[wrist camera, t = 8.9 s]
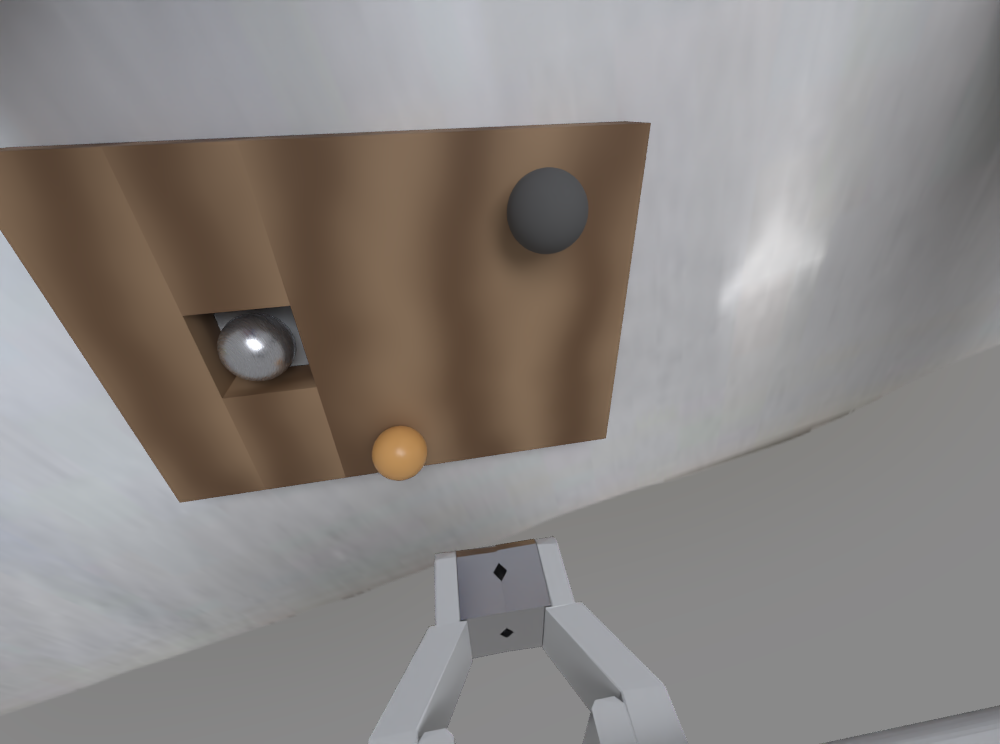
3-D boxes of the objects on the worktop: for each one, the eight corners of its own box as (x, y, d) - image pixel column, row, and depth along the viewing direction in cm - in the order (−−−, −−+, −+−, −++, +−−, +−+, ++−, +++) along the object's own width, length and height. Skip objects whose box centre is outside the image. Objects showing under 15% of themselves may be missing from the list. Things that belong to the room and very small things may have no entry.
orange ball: (422, 411, 24) (424, 447, 21) (429, 450, 26) (431, 487, 23) (369, 418, 24) (364, 455, 21) (379, 457, 25) (375, 496, 23)
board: (625, 121, 20) (650, 123, 18) (592, 415, 30) (605, 438, 28) (7, 147, 17) (-51, 153, 14) (197, 471, 26) (179, 502, 24)
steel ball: (300, 310, 21) (234, 340, 18) (317, 367, 22) (260, 402, 20) (255, 297, 22) (189, 323, 20) (275, 352, 24) (217, 383, 21)
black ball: (575, 160, 18) (605, 170, 15) (570, 239, 20) (596, 261, 17) (498, 164, 18) (515, 175, 15) (501, 245, 20) (516, 268, 17)
